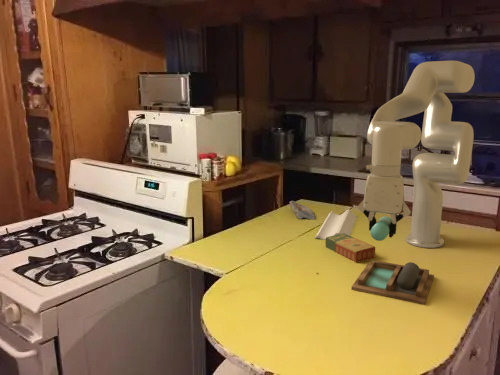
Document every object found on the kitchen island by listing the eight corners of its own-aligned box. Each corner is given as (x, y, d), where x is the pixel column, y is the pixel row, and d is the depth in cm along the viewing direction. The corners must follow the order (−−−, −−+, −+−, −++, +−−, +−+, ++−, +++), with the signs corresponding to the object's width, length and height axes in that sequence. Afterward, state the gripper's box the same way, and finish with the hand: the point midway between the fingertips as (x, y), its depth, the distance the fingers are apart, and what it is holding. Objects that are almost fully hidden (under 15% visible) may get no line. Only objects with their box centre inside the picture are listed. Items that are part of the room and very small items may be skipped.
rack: (368, 265, 135) (368, 258, 135) (433, 277, 126) (434, 269, 126) (351, 289, 120) (351, 281, 119) (424, 304, 111) (425, 296, 110)
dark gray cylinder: (402, 274, 126) (404, 260, 125) (418, 278, 124) (421, 264, 123) (396, 287, 118) (398, 272, 117) (412, 291, 116) (415, 277, 115)
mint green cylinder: (378, 230, 126) (378, 215, 125) (393, 232, 124) (394, 217, 123) (370, 239, 119) (370, 224, 118) (386, 241, 117) (387, 226, 116)
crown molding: (329, 216, 188) (329, 208, 187) (357, 218, 184) (358, 210, 183) (315, 240, 160) (315, 230, 159) (348, 243, 156) (348, 234, 155)
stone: (319, 214, 181) (297, 208, 180) (316, 225, 182) (293, 219, 181) (310, 203, 198) (289, 197, 196) (306, 213, 199) (286, 207, 197)
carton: (355, 263, 138) (355, 251, 137) (324, 247, 152) (324, 236, 151) (375, 258, 141) (375, 246, 140) (343, 243, 155) (343, 232, 154)
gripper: (350, 170, 118) (348, 234, 122) (416, 175, 110) (411, 243, 114) (358, 166, 125) (356, 226, 129) (420, 170, 117) (416, 235, 121)
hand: (382, 234), depth 122 cm, fingers closed on mint green cylinder, 4 cm apart
